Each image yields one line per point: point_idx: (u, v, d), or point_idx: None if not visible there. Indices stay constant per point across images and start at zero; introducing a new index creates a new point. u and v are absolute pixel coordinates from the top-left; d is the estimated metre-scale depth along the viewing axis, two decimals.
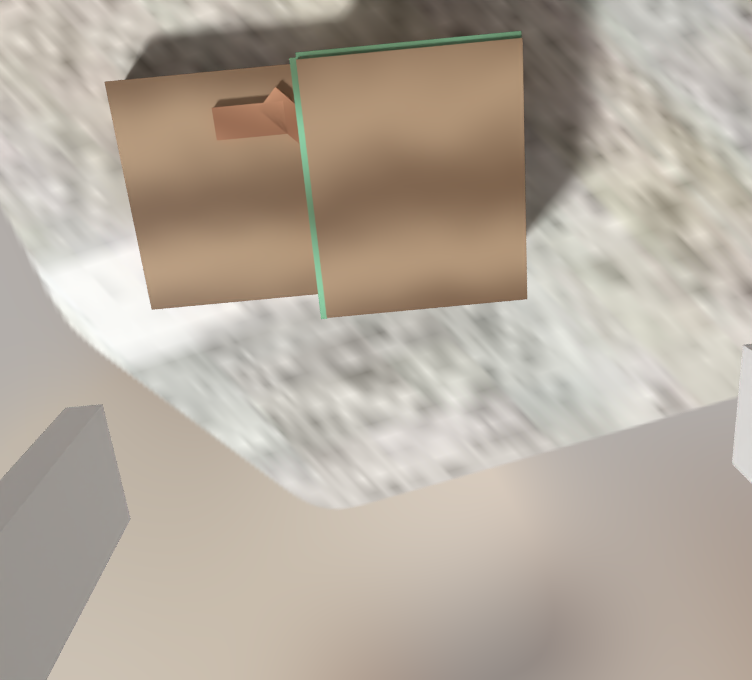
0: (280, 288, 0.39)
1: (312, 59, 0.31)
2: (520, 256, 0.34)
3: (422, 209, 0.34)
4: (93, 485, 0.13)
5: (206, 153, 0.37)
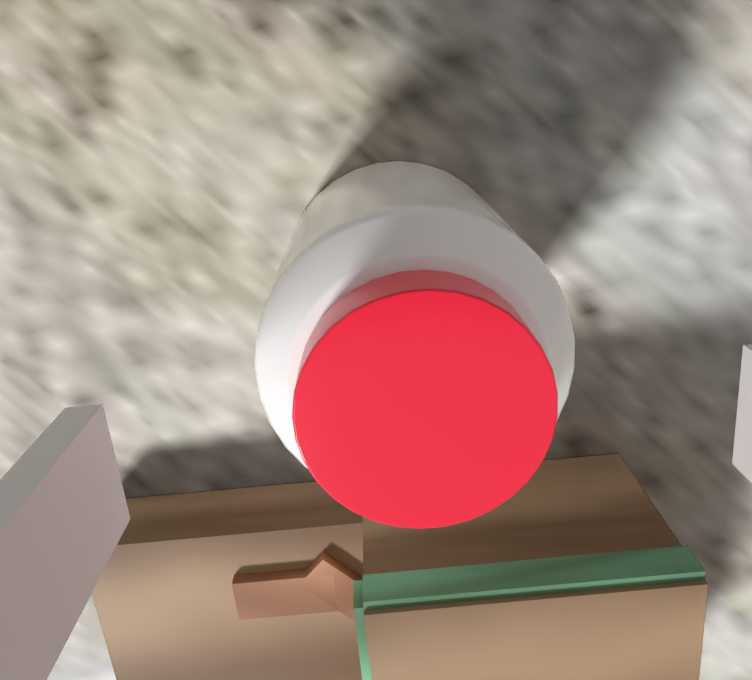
0: None
1: (388, 612, 0.21)
2: None
3: None
4: (93, 485, 0.13)
5: (224, 625, 0.26)
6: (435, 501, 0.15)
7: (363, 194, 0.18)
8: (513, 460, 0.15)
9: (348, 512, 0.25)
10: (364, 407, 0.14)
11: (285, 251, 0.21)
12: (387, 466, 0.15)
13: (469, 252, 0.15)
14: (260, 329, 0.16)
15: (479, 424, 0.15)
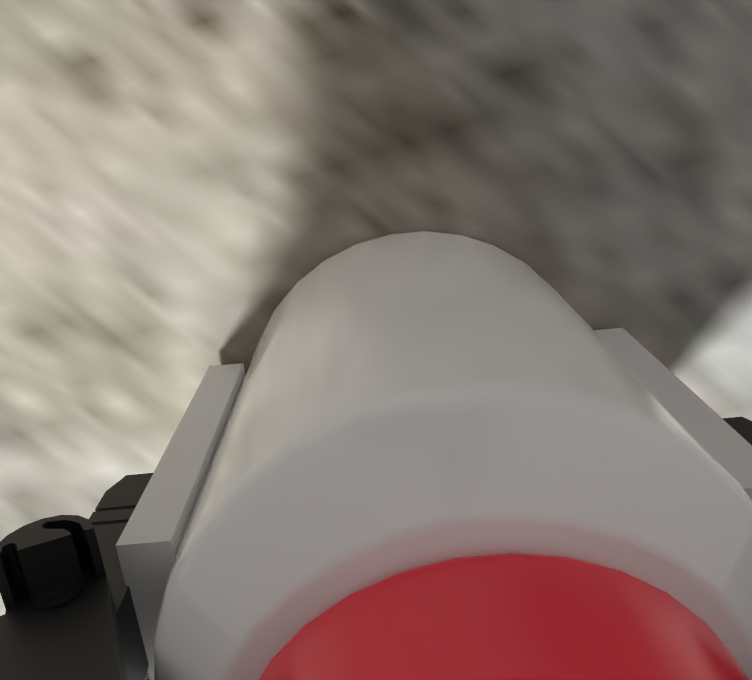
0: None
1: None
2: None
3: None
4: None
5: None
6: None
7: (371, 323, 0.10)
8: None
9: None
10: None
11: (240, 390, 0.13)
12: None
13: (612, 505, 0.07)
14: (160, 627, 0.08)
15: None
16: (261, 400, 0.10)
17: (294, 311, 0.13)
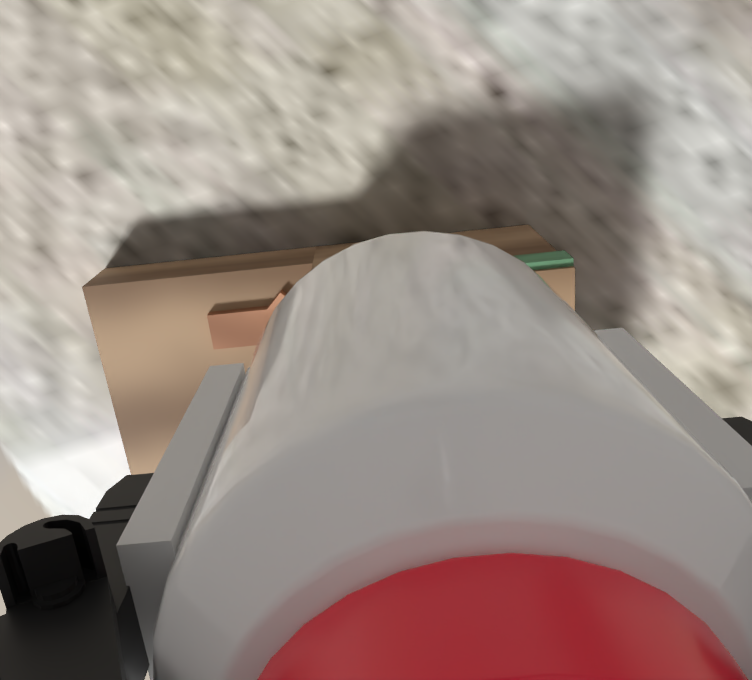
0: None
1: None
2: None
3: None
4: None
5: (202, 359, 0.32)
6: None
7: (370, 323, 0.10)
8: None
9: (302, 260, 0.31)
10: None
11: None
12: None
13: (610, 505, 0.07)
14: (159, 626, 0.08)
15: None
16: (260, 400, 0.10)
17: (293, 311, 0.13)
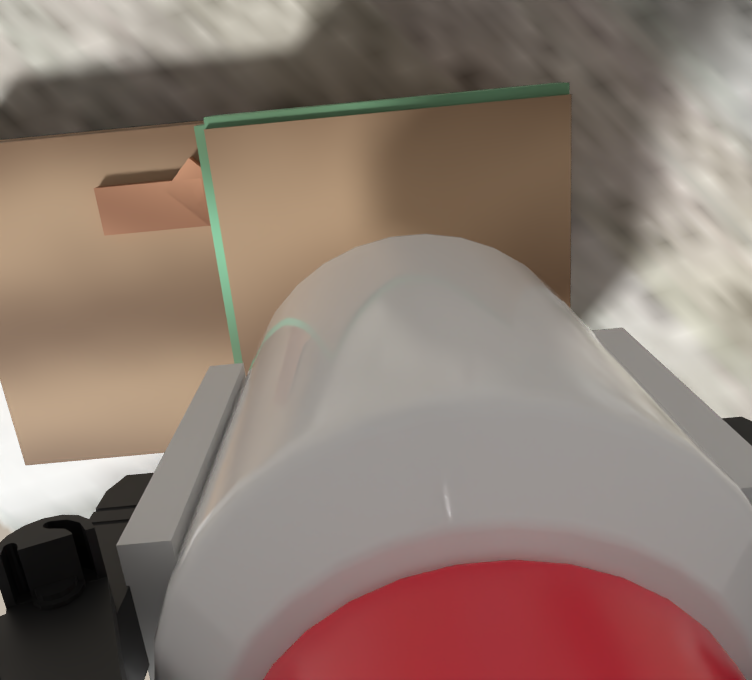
0: None
1: (231, 128, 0.19)
2: None
3: None
4: None
5: (92, 252, 0.25)
6: None
7: (371, 327, 0.10)
8: None
9: None
10: None
11: (240, 393, 0.13)
12: None
13: (612, 510, 0.07)
14: (160, 632, 0.08)
15: None
16: (261, 404, 0.10)
17: (294, 314, 0.13)
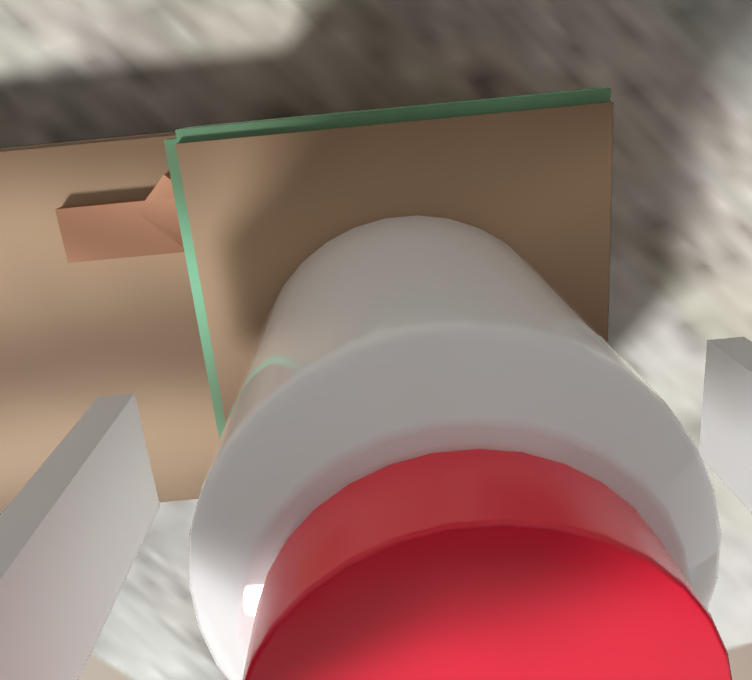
0: (190, 486, 0.24)
1: (207, 143, 0.16)
2: None
3: None
4: (127, 471, 0.14)
5: (55, 281, 0.22)
6: None
7: (367, 284, 0.12)
8: None
9: None
10: None
11: (254, 352, 0.15)
12: None
13: (557, 413, 0.09)
14: (195, 526, 0.10)
15: None
16: (275, 349, 0.11)
17: (301, 283, 0.15)
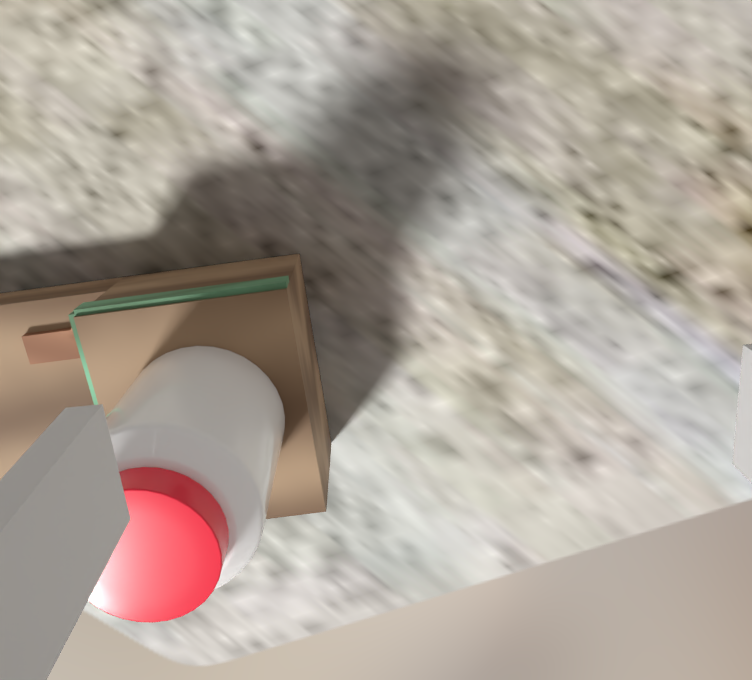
0: None
1: (89, 316, 0.33)
2: (313, 475, 0.36)
3: None
4: (93, 485, 0.13)
5: (24, 373, 0.39)
6: (157, 606, 0.25)
7: (136, 398, 0.28)
8: (200, 580, 0.25)
9: (101, 288, 0.38)
10: None
11: None
12: (124, 587, 0.25)
13: (173, 454, 0.25)
14: None
15: (174, 561, 0.24)
16: None
17: (128, 388, 0.31)
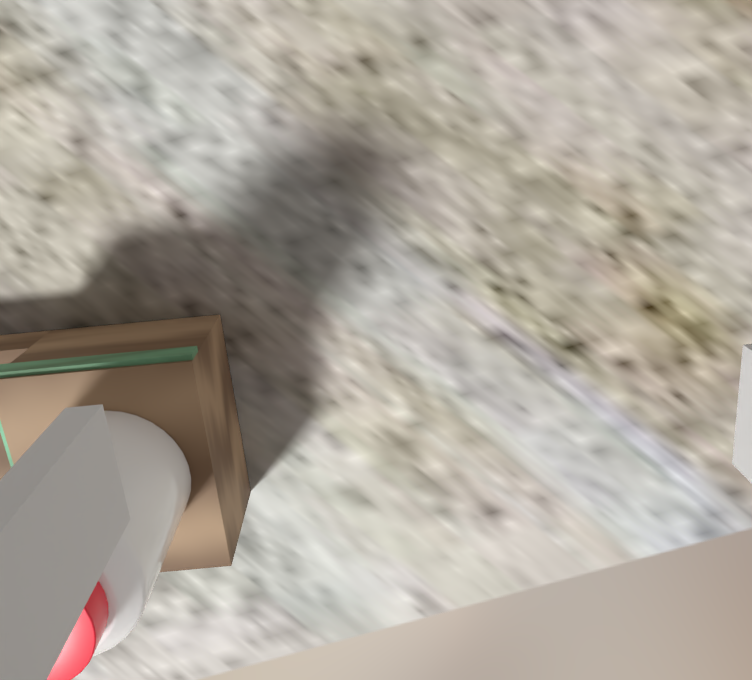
0: None
1: (4, 379, 0.35)
2: (219, 532, 0.38)
3: None
4: (93, 485, 0.13)
5: None
6: None
7: None
8: (75, 653, 0.27)
9: (25, 344, 0.39)
10: None
11: None
12: None
13: None
14: None
15: None
16: None
17: None
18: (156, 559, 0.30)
